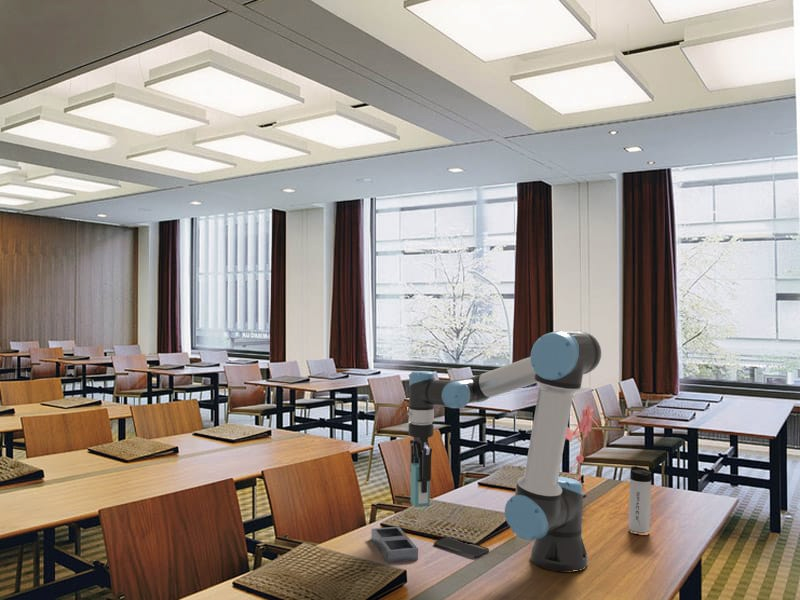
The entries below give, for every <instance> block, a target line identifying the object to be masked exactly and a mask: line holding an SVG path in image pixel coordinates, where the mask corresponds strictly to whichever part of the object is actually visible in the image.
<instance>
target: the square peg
mask: <svg viewBox="0 0 800 600" xmlns="http://www.w3.org/2000/svg"><path fill="white" fill-rule="evenodd" d="M410 470H411V471H410V504H411V505H412V506H413V507H414V508H423V507H424V508H425V507H430V506H431V505H430V503H431V502H430V497H431V496H430V494H431V481H428V503H422V504H419V503H418V481H417V480H420V476H419V463H411V462H410Z"/></svg>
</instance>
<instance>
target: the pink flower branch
mask: <svg viewBox="0 0 800 600" xmlns="http://www.w3.org/2000/svg"><path fill="white" fill-rule="evenodd" d="M581 412H582V413H581V415H582V418H581V421H579V423H578V425H577V427H576V428H575V430H574V431H573V432H572V430H571V428H570V427H568V426H569V425H568V426H567V432H566V438H565V441H567V440H568V442H570V443H572V441H573V435H574V436H575V437H576V438H577V440H578V441H579V442H580V454H577V455H576V458H575V460H576V462H575V463H574V464H572V466H570V468H569V469H570V470H569V471H570V478H571V479H573V478H572V477H573V475H572V474H573V473H572V471H573V470H572V468H573V467H574V466H576V464H578V475H579V478H577V481H579V482H580V483H581V484H582V479H581V467H580V466H581V465H580V463H582V462H583V461H584V459H585V458H584V456H583V441H582V439H581V438H580V437H579V436H578V435H577V434H579V433H582V436H583V438H584V439H585V438H587V437H588V433H589V432H592V422H594V424H595V425H596V426H597V427H598V428H599V427H600V426H599V424H597V422H596V421H595V420H594V418H593V416H594V409H593V408H592V409H591V403H587V405H586V408H585V407H584V408H582V411H581ZM582 487H583V492H584V493H585V494H586V495H588V493H587V491H586V489H585V488H584V486H583V485H582ZM608 504H609V502H606V505H608ZM602 506H603V504H602V505H600V507H602Z"/></svg>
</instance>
